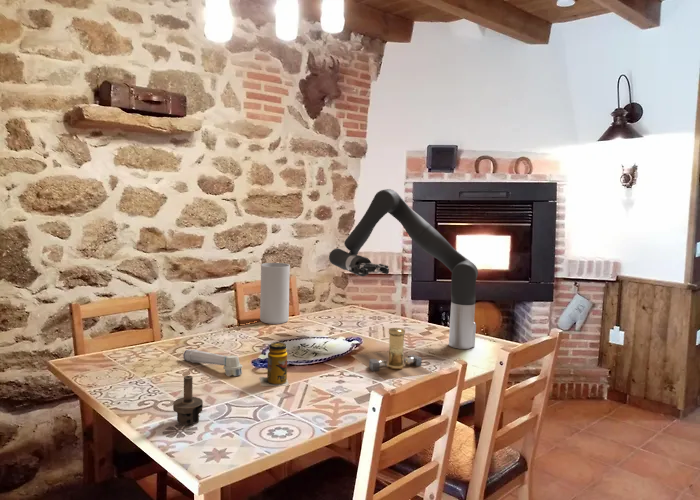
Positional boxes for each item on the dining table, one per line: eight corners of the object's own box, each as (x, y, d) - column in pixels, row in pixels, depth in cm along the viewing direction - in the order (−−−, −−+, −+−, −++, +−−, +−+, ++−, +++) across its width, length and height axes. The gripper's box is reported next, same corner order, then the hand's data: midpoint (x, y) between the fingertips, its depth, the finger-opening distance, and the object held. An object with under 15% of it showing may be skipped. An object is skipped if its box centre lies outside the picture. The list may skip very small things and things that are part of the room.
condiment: (289, 385, 171) (290, 347, 170) (261, 386, 169) (261, 348, 168) (286, 377, 178) (287, 340, 177) (259, 378, 176) (260, 341, 175)
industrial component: (166, 423, 142) (166, 377, 141) (187, 413, 148) (187, 369, 147) (192, 432, 137) (192, 385, 136) (213, 422, 144) (214, 377, 142)
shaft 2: (412, 362, 196) (413, 354, 196) (421, 365, 192) (421, 357, 192) (401, 364, 193) (401, 356, 192) (410, 368, 189) (410, 360, 189)
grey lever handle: (193, 347, 193) (244, 352, 179) (195, 366, 194) (246, 372, 179) (180, 350, 189) (232, 356, 175) (182, 370, 189) (234, 377, 175)
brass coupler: (398, 363, 193) (399, 327, 191) (406, 368, 188) (407, 331, 187) (384, 365, 191) (385, 328, 189) (392, 370, 186) (393, 332, 184)
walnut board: (394, 352, 209) (394, 350, 208) (432, 374, 185) (432, 373, 185) (350, 356, 201) (350, 355, 201) (384, 381, 178) (384, 379, 178)
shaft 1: (383, 366, 190) (384, 358, 190) (387, 370, 186) (387, 362, 185) (368, 367, 189) (369, 359, 188) (372, 371, 185) (372, 363, 184)
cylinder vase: (273, 315, 256) (274, 261, 253) (294, 320, 249) (295, 265, 246) (254, 320, 246) (254, 264, 243) (274, 325, 239) (276, 268, 236)
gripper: (342, 256, 216) (360, 262, 201) (375, 255, 222) (394, 261, 207) (341, 275, 217) (359, 282, 202) (374, 273, 223) (394, 281, 208)
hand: (377, 271), depth 205 cm, fingers open, 8 cm apart
